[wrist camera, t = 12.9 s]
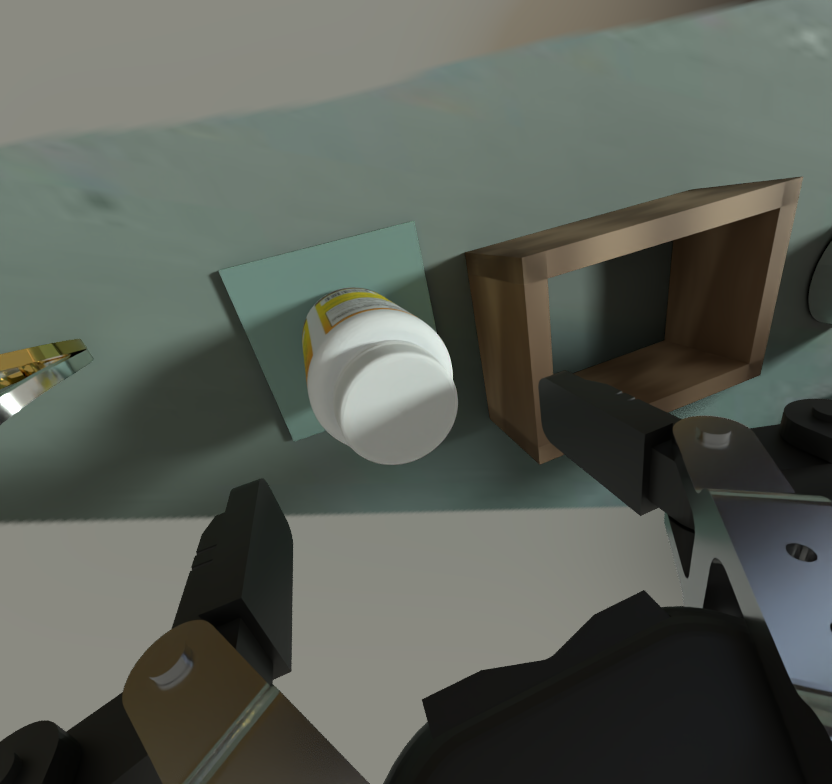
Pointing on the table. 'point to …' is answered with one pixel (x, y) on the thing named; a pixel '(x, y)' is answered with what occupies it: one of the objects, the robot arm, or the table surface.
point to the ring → (38, 372)
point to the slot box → (686, 312)
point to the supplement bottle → (377, 376)
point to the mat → (305, 285)
